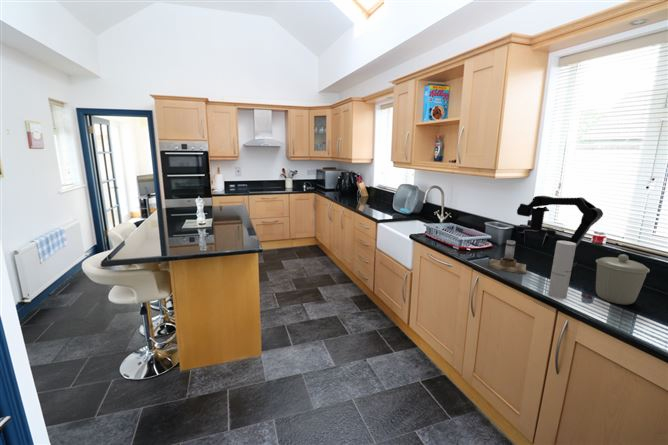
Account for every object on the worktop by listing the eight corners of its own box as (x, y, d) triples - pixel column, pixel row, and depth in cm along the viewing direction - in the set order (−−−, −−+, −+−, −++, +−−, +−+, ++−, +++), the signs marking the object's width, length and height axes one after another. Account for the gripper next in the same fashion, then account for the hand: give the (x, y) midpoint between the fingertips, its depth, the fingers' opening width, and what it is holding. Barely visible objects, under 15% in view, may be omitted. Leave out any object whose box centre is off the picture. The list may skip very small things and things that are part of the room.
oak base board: (525, 266, 188) (526, 264, 188) (525, 274, 176) (525, 271, 176) (491, 261, 197) (491, 258, 197) (488, 267, 185) (489, 265, 185)
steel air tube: (510, 263, 188) (513, 240, 186) (513, 266, 184) (517, 242, 181) (502, 263, 189) (505, 239, 186) (505, 265, 184) (508, 241, 182)
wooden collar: (515, 264, 188) (516, 259, 187) (515, 268, 181) (516, 263, 180) (500, 261, 192) (501, 256, 191) (499, 265, 185) (500, 260, 184)
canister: (589, 288, 160) (598, 246, 155) (639, 299, 149) (650, 254, 144) (588, 300, 146) (597, 255, 142) (643, 313, 135) (654, 264, 130)
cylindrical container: (570, 298, 147) (580, 245, 142) (554, 298, 147) (563, 244, 142) (559, 292, 154) (569, 240, 149) (544, 291, 154) (553, 240, 149)
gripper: (556, 218, 184) (551, 244, 188) (518, 214, 194) (514, 239, 197) (557, 221, 175) (552, 249, 178) (518, 217, 184) (514, 243, 187)
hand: (533, 245), depth 185 cm, fingers open, 9 cm apart
